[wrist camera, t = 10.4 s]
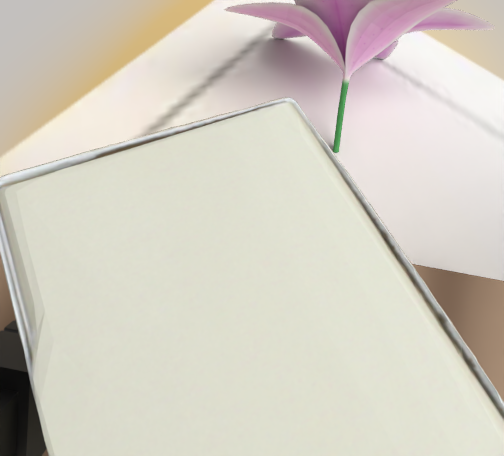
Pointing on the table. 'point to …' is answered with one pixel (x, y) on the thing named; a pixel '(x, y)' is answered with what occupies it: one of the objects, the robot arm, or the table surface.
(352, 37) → the lily
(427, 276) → the walnut board
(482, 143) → the table surface
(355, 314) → the skincare box
